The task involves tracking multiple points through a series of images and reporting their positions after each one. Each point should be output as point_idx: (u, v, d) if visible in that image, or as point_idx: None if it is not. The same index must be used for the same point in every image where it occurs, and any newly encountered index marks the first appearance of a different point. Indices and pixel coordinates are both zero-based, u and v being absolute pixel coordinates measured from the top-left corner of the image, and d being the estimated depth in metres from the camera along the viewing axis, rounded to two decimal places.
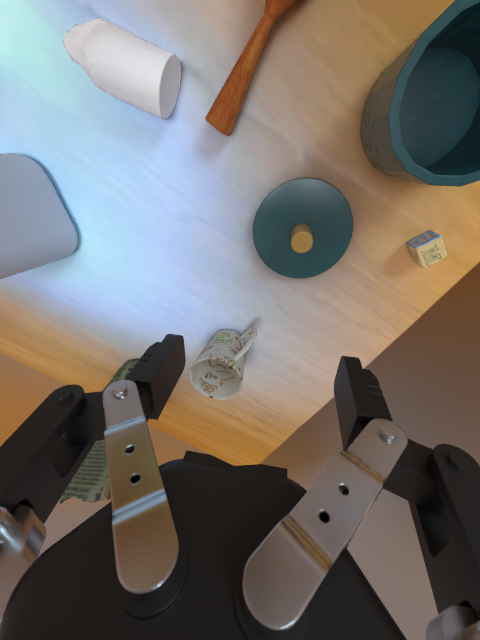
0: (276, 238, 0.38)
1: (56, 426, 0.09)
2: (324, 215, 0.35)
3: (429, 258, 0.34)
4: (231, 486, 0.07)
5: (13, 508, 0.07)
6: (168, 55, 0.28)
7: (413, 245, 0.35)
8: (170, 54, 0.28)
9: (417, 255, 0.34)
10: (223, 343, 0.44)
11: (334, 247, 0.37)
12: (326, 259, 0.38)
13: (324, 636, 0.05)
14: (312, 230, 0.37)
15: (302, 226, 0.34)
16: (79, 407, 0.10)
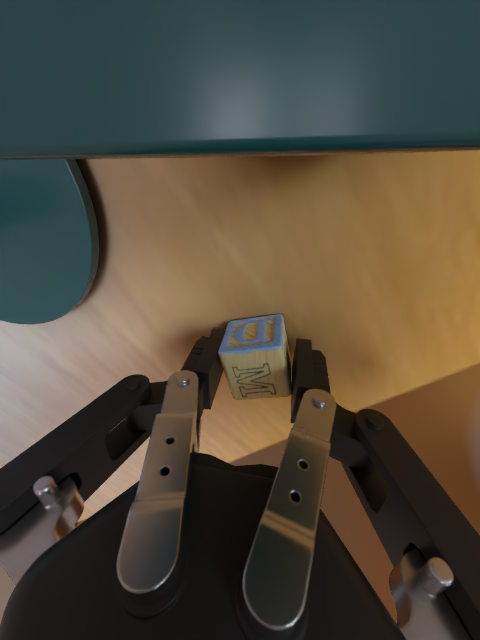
0: None
1: (116, 413, 0.09)
2: (10, 178, 0.12)
3: (249, 386, 0.13)
4: (231, 486, 0.07)
5: (63, 478, 0.08)
6: None
7: (225, 340, 0.13)
8: None
9: None
10: None
11: (54, 276, 0.14)
12: (42, 297, 0.15)
13: (324, 636, 0.05)
14: None
15: None
16: (146, 396, 0.10)
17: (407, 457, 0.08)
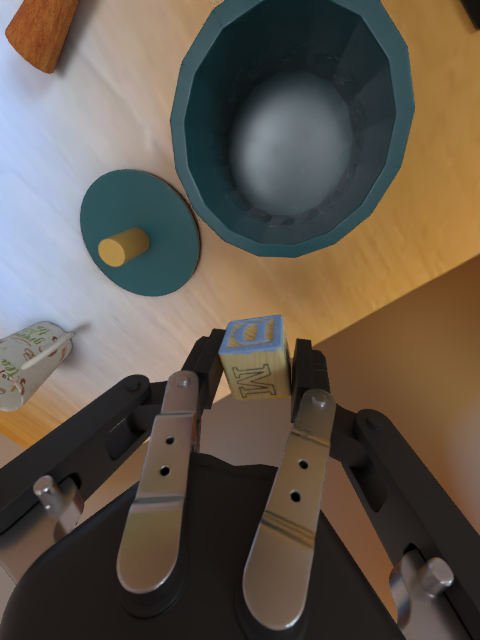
0: (108, 236, 0.29)
1: (116, 413, 0.09)
2: (166, 229, 0.28)
3: (249, 386, 0.13)
4: (231, 486, 0.07)
5: (63, 478, 0.08)
6: None
7: (225, 341, 0.13)
8: None
9: None
10: (23, 341, 0.34)
11: (175, 271, 0.30)
12: (165, 282, 0.31)
13: (324, 636, 0.05)
14: (151, 242, 0.29)
15: (128, 233, 0.27)
16: (146, 396, 0.10)
17: (407, 457, 0.08)
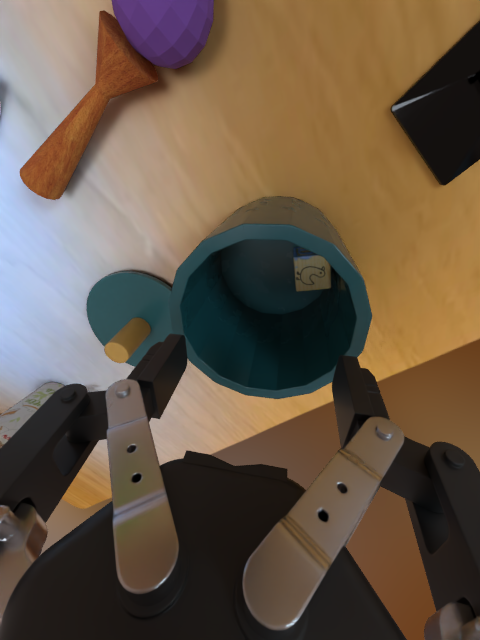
0: (112, 322, 0.32)
1: (59, 425, 0.09)
2: (165, 320, 0.31)
3: None
4: (231, 486, 0.07)
5: (15, 506, 0.07)
6: None
7: None
8: None
9: (328, 266, 0.22)
10: (34, 409, 0.37)
11: None
12: None
13: (324, 636, 0.05)
14: (152, 329, 0.32)
15: (131, 328, 0.29)
16: (82, 406, 0.10)
17: None
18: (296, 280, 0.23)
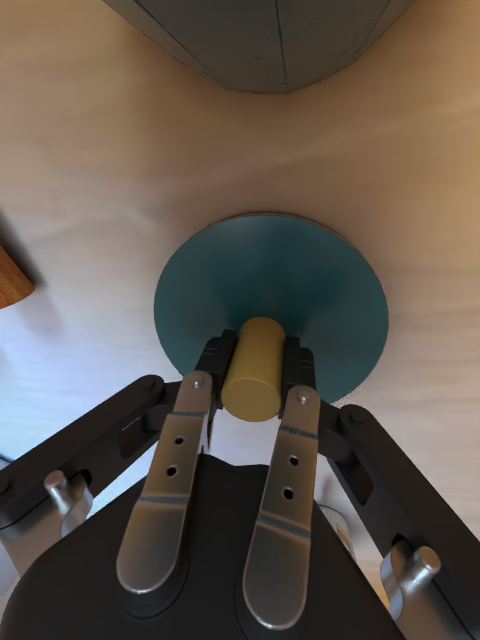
0: None
1: (129, 412, 0.09)
2: (273, 278, 0.14)
3: None
4: (231, 486, 0.07)
5: (74, 474, 0.08)
6: None
7: None
8: None
9: None
10: None
11: (353, 314, 0.14)
12: (358, 344, 0.15)
13: (324, 636, 0.05)
14: (278, 318, 0.15)
15: (240, 344, 0.13)
16: (161, 396, 0.10)
17: (390, 449, 0.08)
18: None
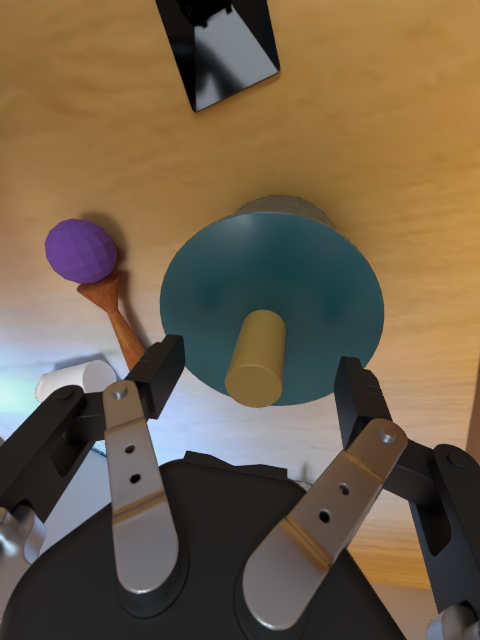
0: None
1: (56, 426, 0.09)
2: (274, 273, 0.15)
3: None
4: (231, 486, 0.07)
5: (13, 508, 0.07)
6: (81, 374, 0.34)
7: None
8: (82, 371, 0.34)
9: None
10: None
11: (351, 307, 0.15)
12: (355, 335, 0.16)
13: (324, 636, 0.05)
14: (279, 311, 0.16)
15: (242, 334, 0.14)
16: (79, 407, 0.10)
17: None
18: None
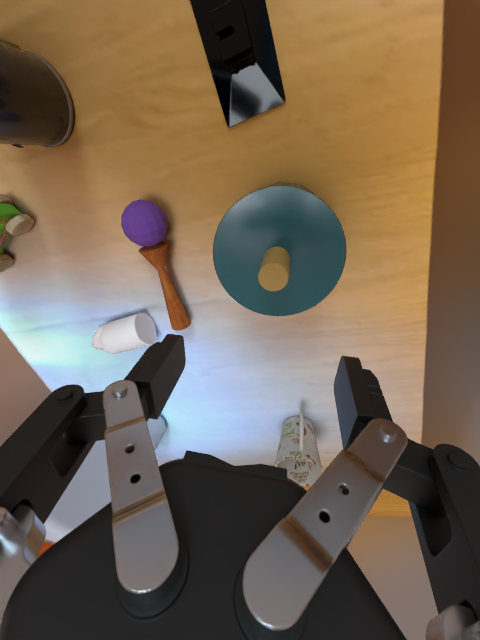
0: (258, 284, 0.29)
1: (56, 426, 0.09)
2: (283, 222, 0.26)
3: None
4: (231, 486, 0.07)
5: (13, 508, 0.07)
6: (133, 321, 0.45)
7: None
8: (134, 319, 0.45)
9: None
10: (288, 437, 0.51)
11: (327, 242, 0.26)
12: (330, 261, 0.27)
13: (324, 636, 0.05)
14: (285, 247, 0.27)
15: (265, 256, 0.25)
16: (79, 407, 0.10)
17: None
18: None
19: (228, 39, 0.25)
